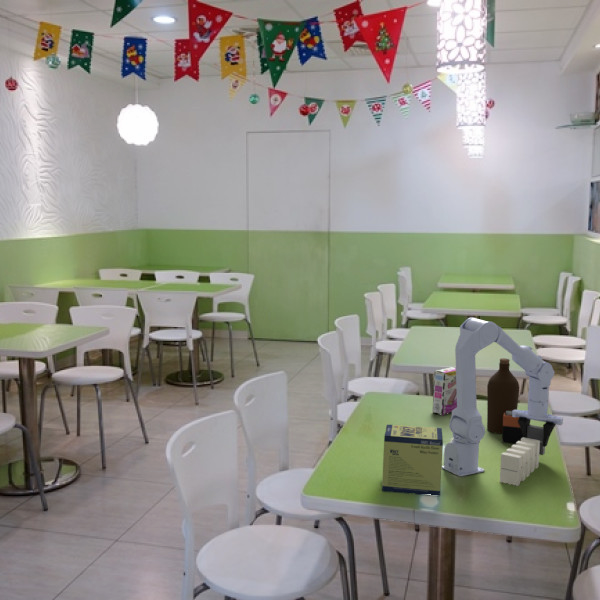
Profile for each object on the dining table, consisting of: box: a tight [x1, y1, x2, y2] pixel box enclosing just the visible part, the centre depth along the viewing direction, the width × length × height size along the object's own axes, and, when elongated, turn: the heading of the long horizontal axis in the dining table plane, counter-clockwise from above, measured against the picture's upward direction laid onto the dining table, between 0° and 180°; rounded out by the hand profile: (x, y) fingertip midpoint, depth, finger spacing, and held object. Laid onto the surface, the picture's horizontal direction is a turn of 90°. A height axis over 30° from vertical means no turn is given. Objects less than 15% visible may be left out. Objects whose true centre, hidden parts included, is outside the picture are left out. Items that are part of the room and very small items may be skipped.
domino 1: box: [499, 451, 521, 487], centre depth 190 cm, size 2×5×8 cm, turn 54°
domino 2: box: [505, 447, 526, 482], centre depth 194 cm, size 2×5×8 cm, turn 54°
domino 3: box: [510, 444, 531, 478], centre depth 197 cm, size 2×5×8 cm, turn 54°
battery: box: [501, 411, 523, 445], centre depth 226 cm, size 4×7×10 cm, turn 72°
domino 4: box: [515, 441, 536, 474], centre depth 200 cm, size 2×5×8 cm, turn 54°
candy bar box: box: [432, 366, 457, 416], centre depth 259 cm, size 11×5×16 cm, turn 133°
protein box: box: [381, 424, 444, 496], centre depth 186 cm, size 10×16×16 cm
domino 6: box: [521, 437, 540, 469], centre depth 204 cm, size 2×5×8 cm, turn 54°
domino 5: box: [527, 424, 546, 456], centre depth 208 cm, size 2×5×8 cm, turn 54°
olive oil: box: [486, 358, 520, 435], centre depth 237 cm, size 11×11×25 cm
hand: (535, 443), depth 208 cm, fingers closed on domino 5, 5 cm apart
